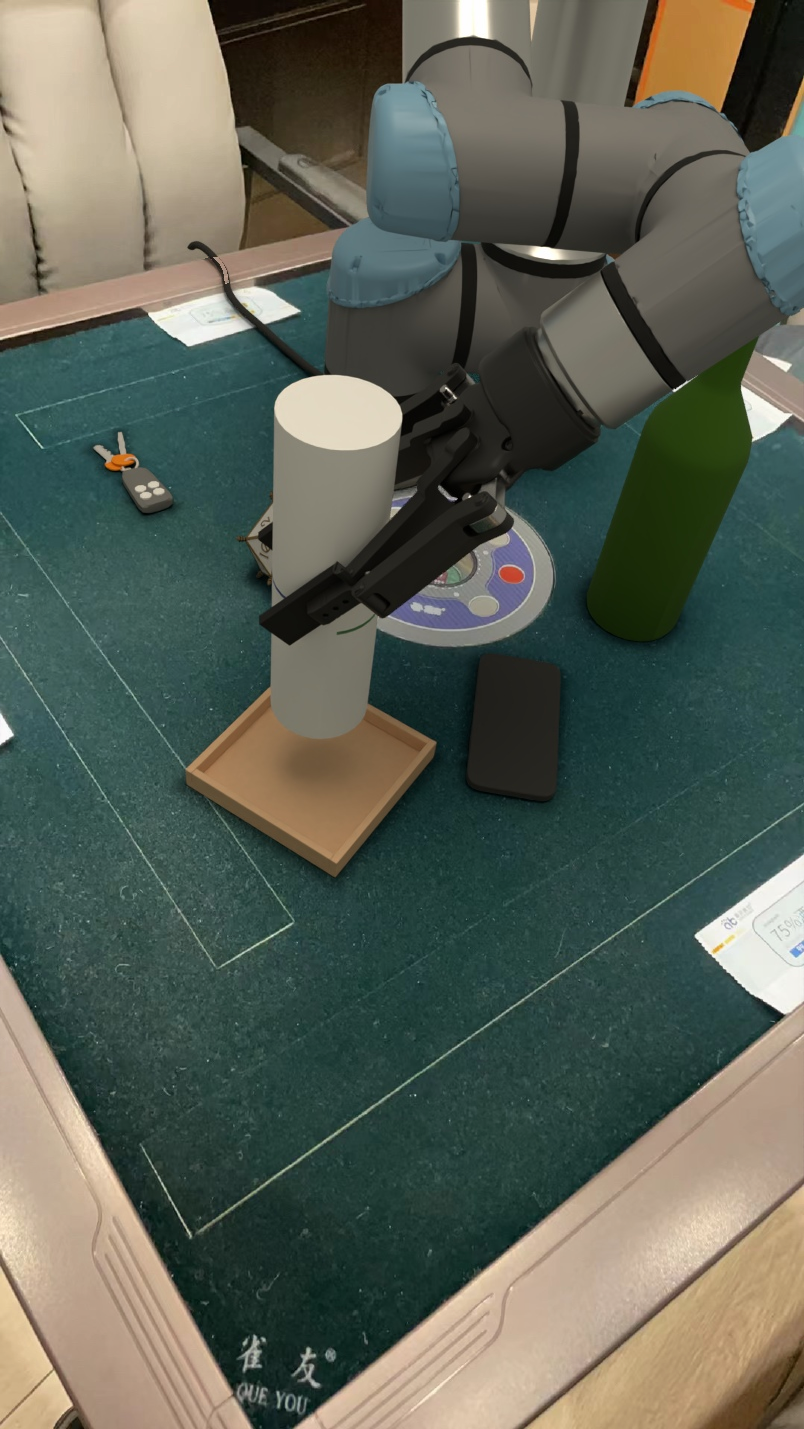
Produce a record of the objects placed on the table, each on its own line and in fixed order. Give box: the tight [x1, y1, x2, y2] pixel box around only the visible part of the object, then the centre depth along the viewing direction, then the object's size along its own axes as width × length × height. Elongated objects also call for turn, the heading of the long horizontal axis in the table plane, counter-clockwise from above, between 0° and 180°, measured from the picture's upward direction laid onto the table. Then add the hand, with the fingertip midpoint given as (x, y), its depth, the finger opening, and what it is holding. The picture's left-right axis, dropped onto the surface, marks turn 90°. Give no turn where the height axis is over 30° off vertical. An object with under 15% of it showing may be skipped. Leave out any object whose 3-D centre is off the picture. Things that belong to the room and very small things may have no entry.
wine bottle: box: [586, 335, 760, 642], centre depth 88 cm, size 9×9×32 cm
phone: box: [465, 652, 562, 802], centre depth 89 cm, size 7×1×15 cm
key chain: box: [92, 431, 174, 514], centre depth 105 cm, size 13×4×2 cm, turn 34°
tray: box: [185, 685, 437, 878], centre depth 84 cm, size 14×14×2 cm
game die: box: [235, 491, 273, 586], centre depth 95 cm, size 9×8×10 cm
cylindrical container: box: [270, 375, 402, 739], centre depth 68 cm, size 7×7×25 cm
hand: (273, 587), depth 68 cm, fingers closed on cylindrical container, 7 cm apart
